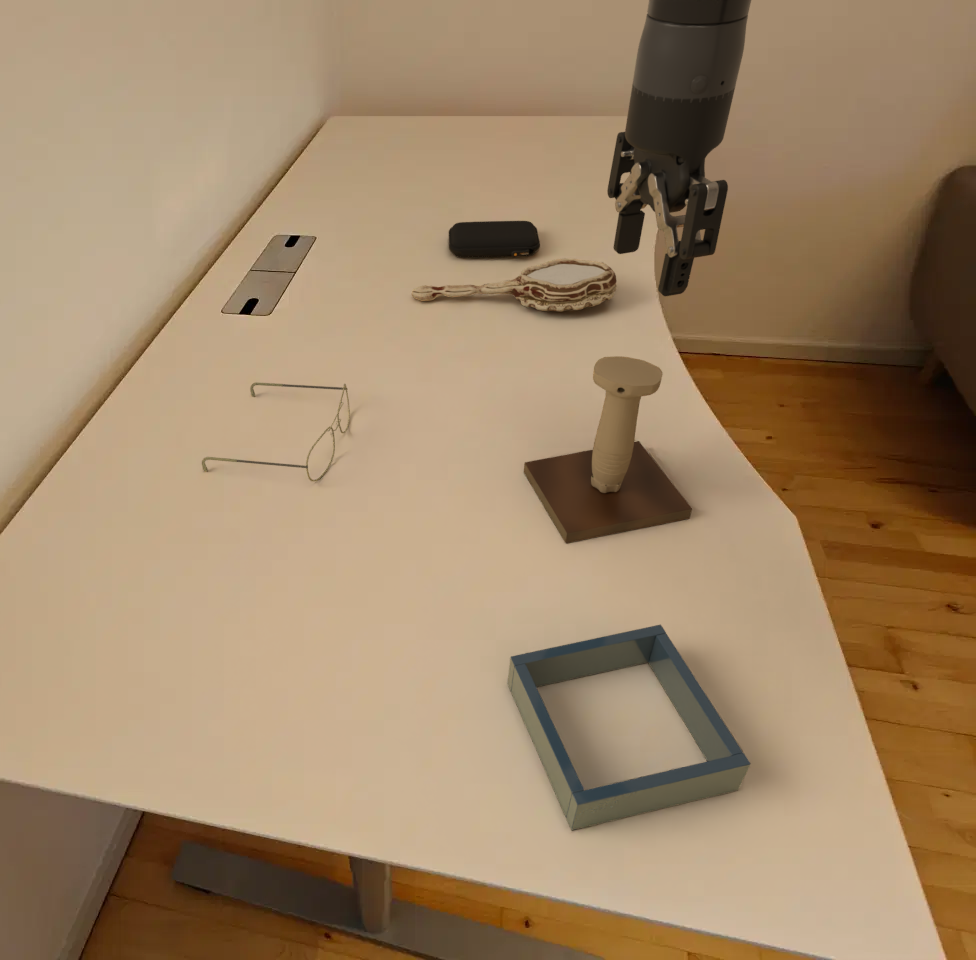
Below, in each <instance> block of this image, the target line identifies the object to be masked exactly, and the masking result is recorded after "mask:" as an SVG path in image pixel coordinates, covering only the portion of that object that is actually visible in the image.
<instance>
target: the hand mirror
mask: <svg viewBox="0 0 976 960" xmlns="http://www.w3.org/2000/svg"><path fill="white" fill-rule="evenodd" d="M617 282H618V281H617V275H616V273H615V271H614V270H613V268H611V267H610V266H609V265H608V264H606V263H604V262H601V261H596V260H595V261H594V260H586V259H577V258H557V259H552V260H549V261H546V262H543V263H540V264H537V265H531V266H528V267H526V268H524V269H522V271H520V274H519V275H518V276H517V277H515V278H513V279H506V280H502V281H498V282H491V283H483V284H481V285H475V284H462V285H461V284H460V285H457V284H456V285H455V284H454V285H453V284H452V285H450V284H449V285H448V284H446V285H442V286H435V285H421V286H417V287H415V288H413V289H412V290H411V297H412V298H414V299H415V300H418V301H422V302H427V301H433V300H435V299H436V298H438V297H440V296H445V297H447V298H458V297H469V296H473V295H475V294H477V295H511V296H513V297H514V298H515V300H516V301H519V302H520V305H521V306H523V307H525V308H533V309H536V310H537V311H541V312H566V311H579V310H583V309H585V308H591V307H595V306H599V305H600V304H601V303H602V302H605V301H609V300H611V299H612V298H613V297H614V296H615V292H616V291H617V290H618V289H617V288H618V287H617Z"/></svg>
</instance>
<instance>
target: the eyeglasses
mask: <svg viewBox="0 0 976 960" xmlns="http://www.w3.org/2000/svg"><path fill="white" fill-rule="evenodd" d="M256 386H267V387H280V388H281V387H282V388H283V387H285V388H301V389H302V388H304V389H320V390H321V389H322V390H335V391H336V390H338V391H340V390H341V391H342V393H341V397H340V400H339V403H338V408H337V413H336V414H335V417H334V419H333V421H332V423H331V425H330V426H328V427H327V428H326V429H324V431H323V432H322V433H321V435H320V436H319V437H318V439H316V441H315V442H314V443H313V444H312V446H311V448H310V449H309V451H308V453H307V456H306V460H305V465H303V464H302V465H301V464H290V463H279V462H267V461H258V460H257V461H255V460H244V459H237V458H225V457H216V456H204V457H203V458H202V460H201V467H202V471H203V472H208V467H207V465H206V461H208V460H209V461H218V462H219V461H220V462H228V463H229V462H230V463H245V464H256V465H265V466H266V465H268V466H278V467H289V468H298V469H299V468H301V469H305V470H306V475H307V479H308V480H309V481H310V482H317V481H319V480H320V479H321V478H322V477H323V476H324V475H325V474H326V473H327V471H328V470H329V468H330V466H331V465H332V462H333V459H334V457H335V450H336V441H335V440H336V439H335V431H337V429H338V428H339V431H340V433H341V434H345V433H346V432H347V431H348V428H349V426H350V421H351V409H350V401H349V400H350V399H349V394H348V387H347V385H346V383H344V384H343V386H342V387H339V386H325V385H324V386H322V385H304V384H285V383H274V382H257V381H256V382H253V383H252V384H251V385H250V388H249V391H250V395H251V397H254V398H255V397H256V393H255V390H254V387H256ZM344 393H345V394H346V401H347V412H348V418H347V424H346V428H345V429H344V430H343V429H342V426H341V421H342V418H340V412H341V410H342V408H343V405H344V402H343V398H344ZM336 419H337V420H336ZM334 423H335V425H336V428H335V429H334V428H333V426H334ZM330 431H331V432H330ZM327 432H330V435H332V444H333V445H332V455H331V458H330V460H329V463H328V465H327V467H326V468H325V470H324V471H323V473H322V474H321V475H320V476H318V478H316V479H312V478H311V476H310V473H309V459H310V456H311V453H312V451H313V450H314V447H315V446H316V445H317V443H319V441H320V440H321V439H322V438H323V436H324V435H325V434H326V433H327Z"/></svg>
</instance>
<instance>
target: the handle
mask: <svg viewBox="0 0 976 960" xmlns="http://www.w3.org/2000/svg"><path fill="white" fill-rule="evenodd" d="M662 379H663V371H662V369H661V368H660V367H659V366H657V365H655V364H653V363H652V362H651V363H650V362H648V361H646V360H643V359H639V358H634V357H631V356H630V357H629V356H618V355H617V356H616V355H615V356H614V355H613V356H603V357H601V358H599V359H598V360H596V362H595V363H594V366H593V373H592V380H593V383H594V384H595V385H596V386H598V387H599V388H601V389H602V390H604V391H605V396H604V401H603V405H602V408H601V409H602V410H601V414H600V418H599V421H598V426H597V430H596V433H595V437H594V442H593V447H592V450H593V453H592V473H593V475H592V476H591V484H592V486H593V487H596V488H597V489H598V490H599V491H600V492H602V493H607V492H617V491H618V490H619V489H620V487H621V484H622V481H623V479H624V476H625V474H626V472H627V469H628V467H629V464H630V460H631V457H632V452H633V447H634V442H635V441H636V440H635V439H636V432H637V422H638V416H639V411H640V410H639V409H640V404H641V403H640V402H641V399H642V397H646V396H652V395H653V394H656V392H657V391H658V390H659V389H660V387H661V383H662Z"/></svg>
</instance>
